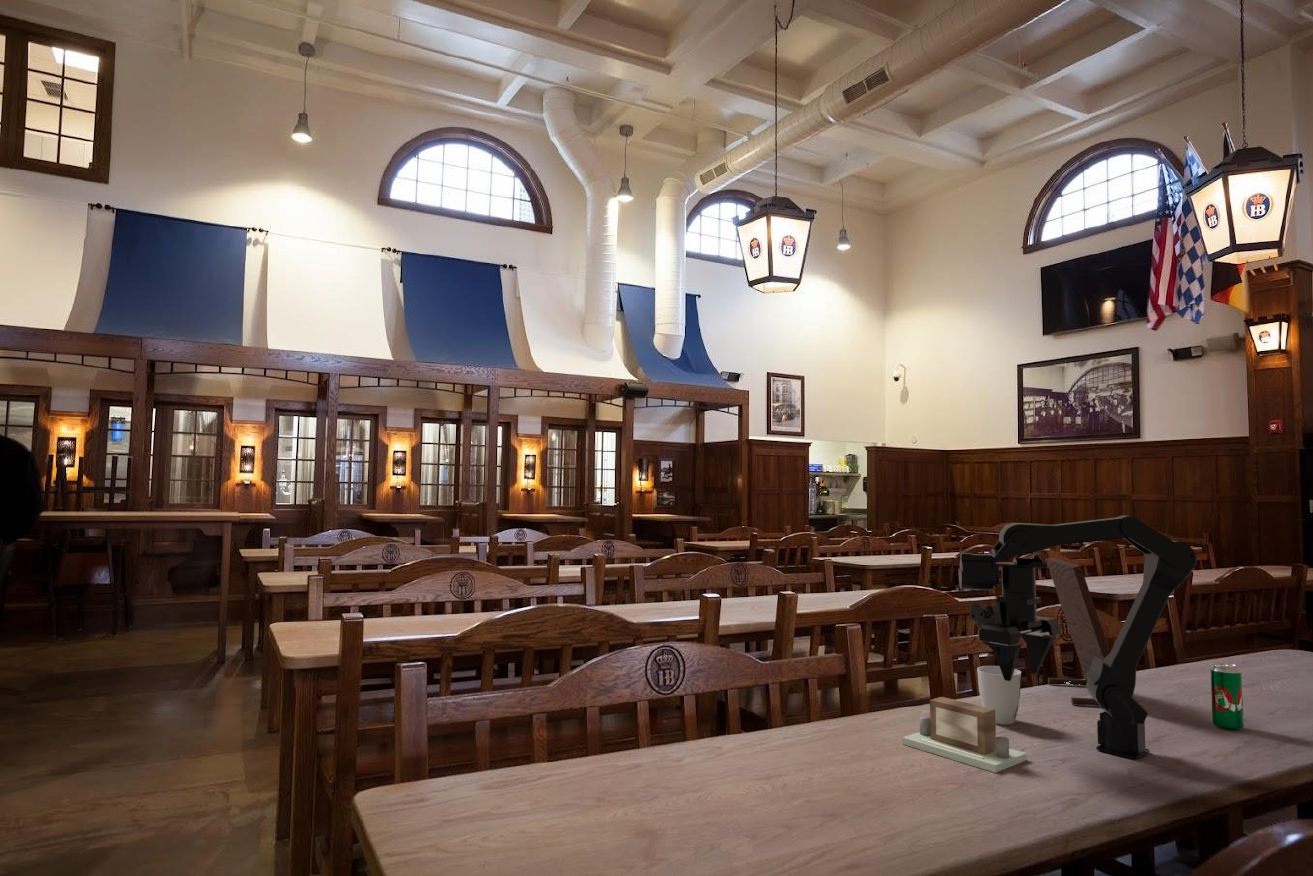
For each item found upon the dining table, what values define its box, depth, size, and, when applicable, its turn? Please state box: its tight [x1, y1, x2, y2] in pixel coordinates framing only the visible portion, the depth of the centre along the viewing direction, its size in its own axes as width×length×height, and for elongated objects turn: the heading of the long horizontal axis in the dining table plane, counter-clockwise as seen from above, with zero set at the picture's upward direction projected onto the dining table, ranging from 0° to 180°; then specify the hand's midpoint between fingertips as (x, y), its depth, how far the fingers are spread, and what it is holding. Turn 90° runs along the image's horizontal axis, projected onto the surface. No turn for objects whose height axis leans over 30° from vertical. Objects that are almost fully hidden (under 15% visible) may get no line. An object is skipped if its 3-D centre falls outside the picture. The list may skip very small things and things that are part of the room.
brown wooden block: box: [929, 696, 997, 755], centre depth 140 cm, size 10×4×7 cm, turn 37°
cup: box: [976, 665, 1022, 726], centre depth 159 cm, size 8×8×10 cm
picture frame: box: [1045, 556, 1111, 707], centre depth 179 cm, size 21×11×30 cm, turn 168°
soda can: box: [1209, 662, 1245, 732], centre depth 155 cm, size 5×5×12 cm
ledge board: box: [901, 715, 1028, 773], centre depth 140 cm, size 18×10×4 cm, turn 37°
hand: (1020, 677), depth 145 cm, fingers open, 9 cm apart
